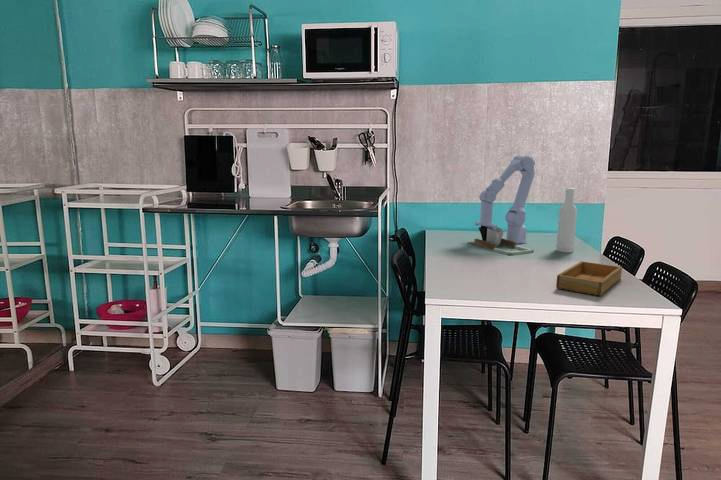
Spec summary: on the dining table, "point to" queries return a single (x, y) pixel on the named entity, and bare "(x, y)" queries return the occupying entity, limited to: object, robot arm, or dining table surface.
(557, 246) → the bottle
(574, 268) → the tray
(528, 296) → the dining table surface
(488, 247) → the channel
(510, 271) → the dining table surface
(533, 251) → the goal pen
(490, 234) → the cup
